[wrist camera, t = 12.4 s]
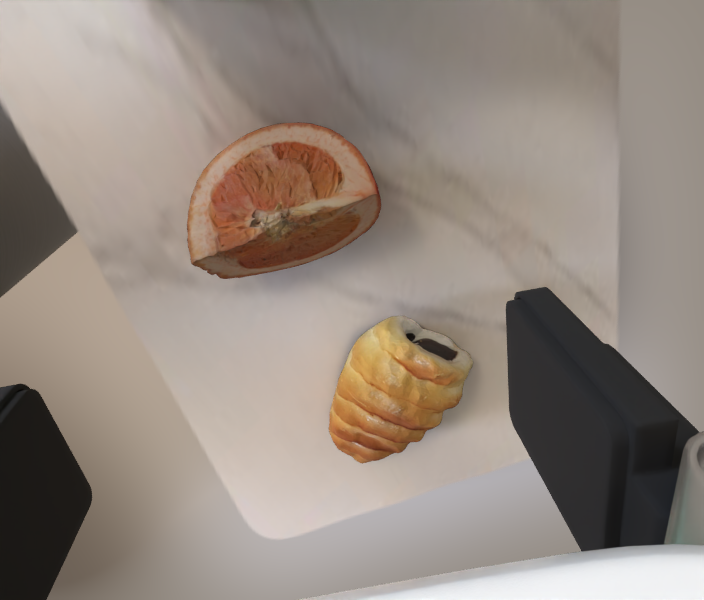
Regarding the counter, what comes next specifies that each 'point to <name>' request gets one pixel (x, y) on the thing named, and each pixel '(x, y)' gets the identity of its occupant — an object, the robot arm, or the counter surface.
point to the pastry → (395, 388)
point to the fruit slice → (280, 201)
